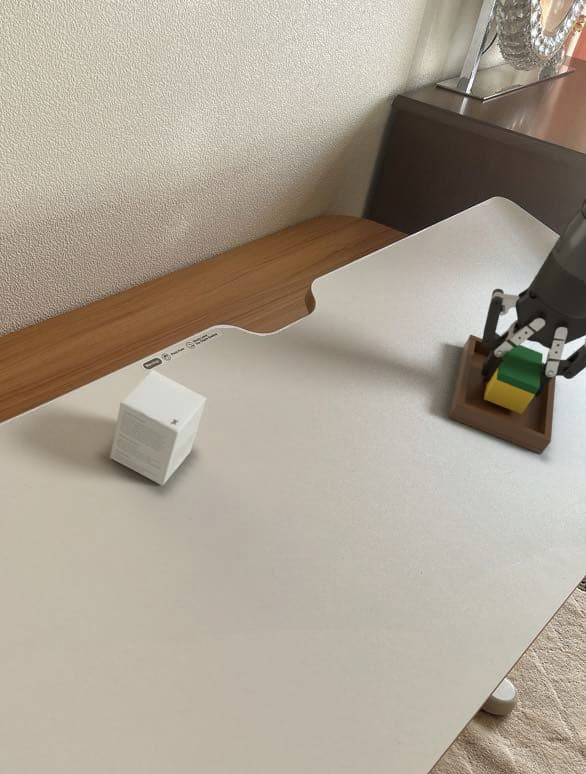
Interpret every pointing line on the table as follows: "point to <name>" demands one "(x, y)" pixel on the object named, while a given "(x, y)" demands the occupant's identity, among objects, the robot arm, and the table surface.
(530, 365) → the sponge
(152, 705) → the table surface
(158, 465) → the product box
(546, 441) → the tray
